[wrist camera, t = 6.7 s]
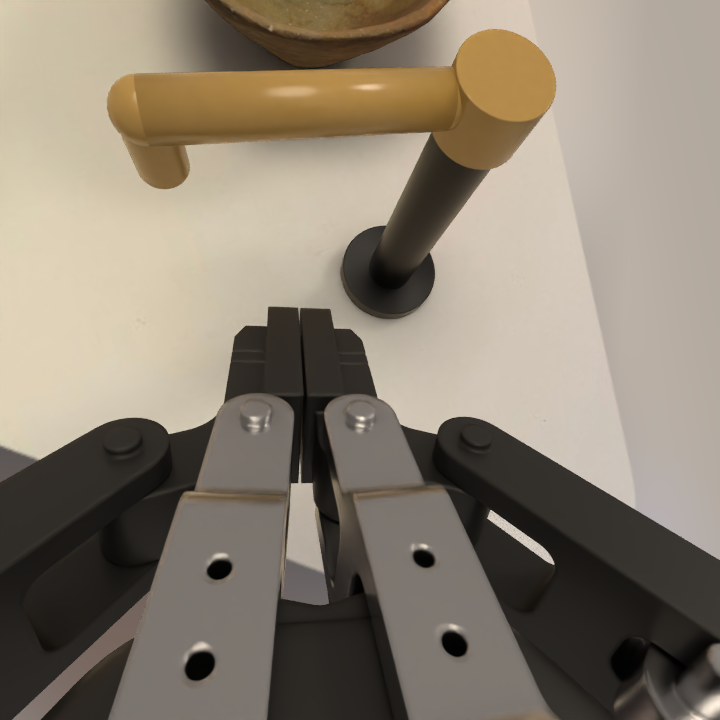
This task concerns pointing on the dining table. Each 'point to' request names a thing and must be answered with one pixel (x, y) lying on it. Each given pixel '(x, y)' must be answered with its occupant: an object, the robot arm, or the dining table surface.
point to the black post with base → (408, 237)
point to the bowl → (325, 25)
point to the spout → (340, 106)
